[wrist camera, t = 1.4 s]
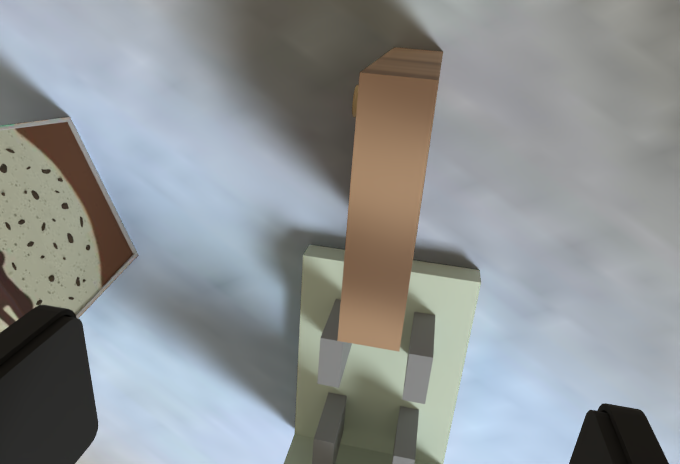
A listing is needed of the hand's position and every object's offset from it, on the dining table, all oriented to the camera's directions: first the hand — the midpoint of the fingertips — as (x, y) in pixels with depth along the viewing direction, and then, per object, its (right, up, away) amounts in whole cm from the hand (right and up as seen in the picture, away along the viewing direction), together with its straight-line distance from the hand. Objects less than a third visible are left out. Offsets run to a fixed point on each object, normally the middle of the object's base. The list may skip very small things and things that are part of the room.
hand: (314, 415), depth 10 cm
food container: (-17, +5, +24) cm, 30 cm away
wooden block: (+4, +8, +18) cm, 20 cm away
